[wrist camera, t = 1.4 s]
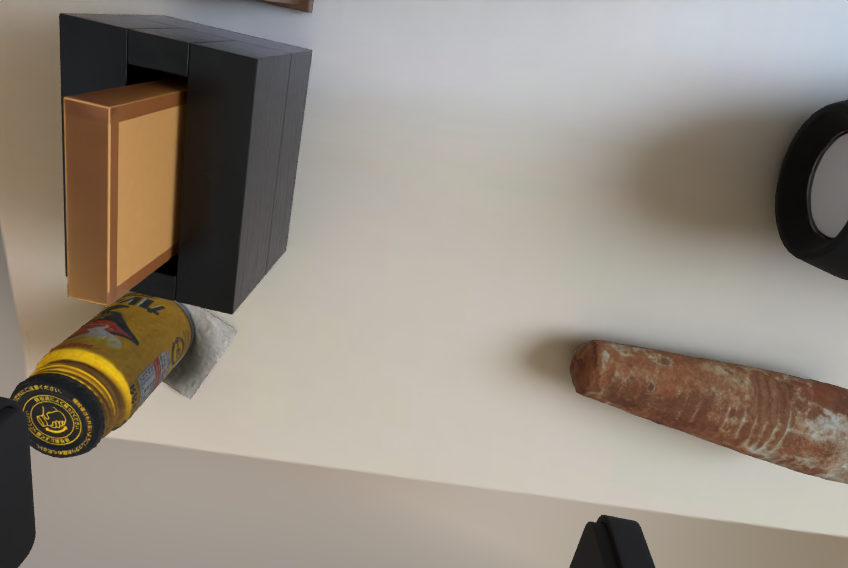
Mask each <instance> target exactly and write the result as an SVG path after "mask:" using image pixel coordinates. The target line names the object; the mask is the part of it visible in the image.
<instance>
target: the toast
mask: <svg viewBox="0 0 848 568" xmlns="http://www.w3.org/2000/svg"><path fill="white" fill-rule="evenodd" d="M187 87H188V77H182V76H178V77H173V78H167V79H161V80H156V81H150V82H145V83H139V84H133V85H128V86H122V87H117V88H111V89H105V90H100V91H94V92H89V93H83V94H77V95H72V96H66V97H64V98H63V100H64V141H65V185H66V228H67V271H68V297H70V298H75V299H79V300H84V301H88V302H92V303H97V304H101V305H106V306H110V305H111V304H112V303H114V302H115V301H116V300H117V299H119V298H120V297H121V296H123V295H124V294H125V293H126V292H128V291H129V290H130V289H132V288H133V287H134V286H136V285H137V284H138V283H139V282H141V281H142V280H143V279H145V278H146V277H147V276H149V275H150V274H151V273H152V272H154V271H155V270H156V269H158V268H159V267H160V266H161V265H163V264H164V263H165V262H167V261H168V260H169V259H171V258H172V257H173V256H174V255H176V254H177V253H178V248H179V230H180V212H181V195H182V177H183V159H184V141H185V123H186V105H187Z"/></svg>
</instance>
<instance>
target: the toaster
mask: <svg viewBox="0 0 848 568" xmlns="http://www.w3.org/2000/svg"><path fill="white" fill-rule="evenodd" d="M59 22H60V63H61V104H62V145H63V186H64V227H65V268H66V277H68V271H67V228H66V185H65V141H64V100H63V98H64V97H66V96H72V95H77V94H83V93H89V92H94V91H100V90H105V89H111V88H117V87H122V86H128V85H133V84H139V83H145V82H150V81H156V80H161V79H167V78H173V77H178V76H182V77H188V87H187V105H186V123H185V141H184V159H183V177H182V195H181V212H180V230H179V248H178V253H177V254H176V255H174V256H173V257H172V258H171V259H169V260H168V261H167V262H165V263H164V264H163V265H161V266H160V267H159V268H158V269H156V270H155V271H154V272H152V273H151V274H150V275H149V276H147V277H146V278H145V279H143V280H142V281H141V282H139V283H138V284H137V285H136V286H134V287H133V288H132V289H130V290H129V291H131V292H136V293H140V294H145V295H149V296H153V297H158V298H162V299H167V300H171V301H176V302H179V303H184V304H188V305H192V306H197V307H201V308H206V309H210V310H214V311H219V312H223V313H228V314H233V313H234V312H235V311H236V310H237V308H238V307H239V306H240V305H241V304H242V302H243V301H244V300H245V299H246V298H247V296H248V295H249V294H250V293H251V292H252V290H253V289H254V288H255V287H256V286H257V284H258V283H259V282H260V281H261V280H262V278H263V277H264V276H265V275H266V274H267V273H268V271H269V270H270V269H271V268H272V267H273V265H274V264H275V263H276V262H277V261H278V259H279V258H280V257H281V256H282V255H283V253H284V252H285V251H286V246H287V239H288V231H289V223H290V216H291V208H292V201H293V193H294V186H295V178H296V170H297V163H298V155H299V148H300V140H301V132H302V125H303V117H304V110H305V102H306V94H307V87H308V79H309V72H310V64H311V56H312V50H309V49H305V48H301V47H297V46H292V45H288V44H284V43H279V42H275V41H271V40H267V39H262V38H258V37H254V36H249V35H245V34H241V33H237V32H232V31H228V30H224V29H219V28H215V27H211V26H207V25H202V24H198V23H194V22H189V21H185V20H181V19H177V18H172V17H168V16H160V15H114V14H73V13H60V15H59Z"/></svg>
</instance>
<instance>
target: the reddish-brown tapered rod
mask: <svg viewBox="0 0 848 568" xmlns="http://www.w3.org/2000/svg"><path fill="white" fill-rule="evenodd" d="M570 374H571V378H572V381H573V385H574V387H575V390H576V392H577V393H579V394H581V395H583V396H586V397H589V398H592V399H595V400H598V401H600V402H603V403H607V404H609V405H612V406H614V407H617V408H619V409H622V410H624V411H627V412H629V413H631V414H634V415H636V416H639V417H642V418H645V419H648V420H651V421H653V422H655V423H657V424H662V425H665V426H667V427H670V428H674V429H677V430H680V431H683V432H685V433H688V434H691V435H694V436H696V437H699V438H701V439H704V440H707V441H710V442H712V443H715V444H718V445H721V446H724V447H727V448H730V449H733V450H735V451H738V452H740V453H743V454H746V455H749V456H752V457H755V458H758V459H762V460H765V461H768V462H771V463H774V464H777V465H780V466H783V467H786V468H788V469H791V470H794V471H797V472H800V473H804V474H808V475H812V476H816V477H820V478H823V479H826V480H831V481H836V482H841V483H846V484H848V389H845V388H842V387H838V386H835V385H831V384H828V383H822V382H819V381H815V380H811V379H803V378H799V377H794V376H790V375H786V374H782V373H778V372H773V371H768V370H763V369H758V368H753V367H746V366H742V365H737V364H731V363H725V362H719V361H713V360H708V359H702V358H695V357H689V356H684V355H680V354H673V353H668V352H663V351H658V350H653V349H648V348H642V347H636V346H629V345H621V344H615V343H610V342H606V341H598V340H592V341H590V342H588V343H585V344H582V345H581V346H580V347H578V349H577V350H576V351H575V353H574V355H573V358H572V361H571V365H570Z"/></svg>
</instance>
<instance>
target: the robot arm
mask: <svg viewBox="0 0 848 568" xmlns="http://www.w3.org/2000/svg"><path fill="white" fill-rule="evenodd" d="M35 533H36V531H35V517H34V502H33V489H32V474H31V459H30V444H29V429H28V418H27V414H26V413H25V411H22V410H20V407H19V404H18V403H17V401H16V400H13V399H9V398H4V397H0V568H18V567H19V566H20V564H21V563H22V562H23V561H24V559H25V558H26V557H27V555H28V554H29V552H30V550H31V548H32V546H33V544H34V540H35ZM570 568H655V565H654V563H653V560H652V557H651V555H650V552H649V549H648V546H647V543H646V540H645V538H644V535H643V532H642V529H641V527H640V525H639V524H638V523H637V522H636V521H633V520H627V519H622V518H617V517H612V516H607V515H601V516H600V517H599V518H598V520H597V522H596V523H594V522H588V523H587V524H586V526H585V528H584V531H583V534H582V536H581V539H580V542H579V544H578V547H577V549H576V552H575V555H574V557H573V560H572V562H571V565H570Z"/></svg>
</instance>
